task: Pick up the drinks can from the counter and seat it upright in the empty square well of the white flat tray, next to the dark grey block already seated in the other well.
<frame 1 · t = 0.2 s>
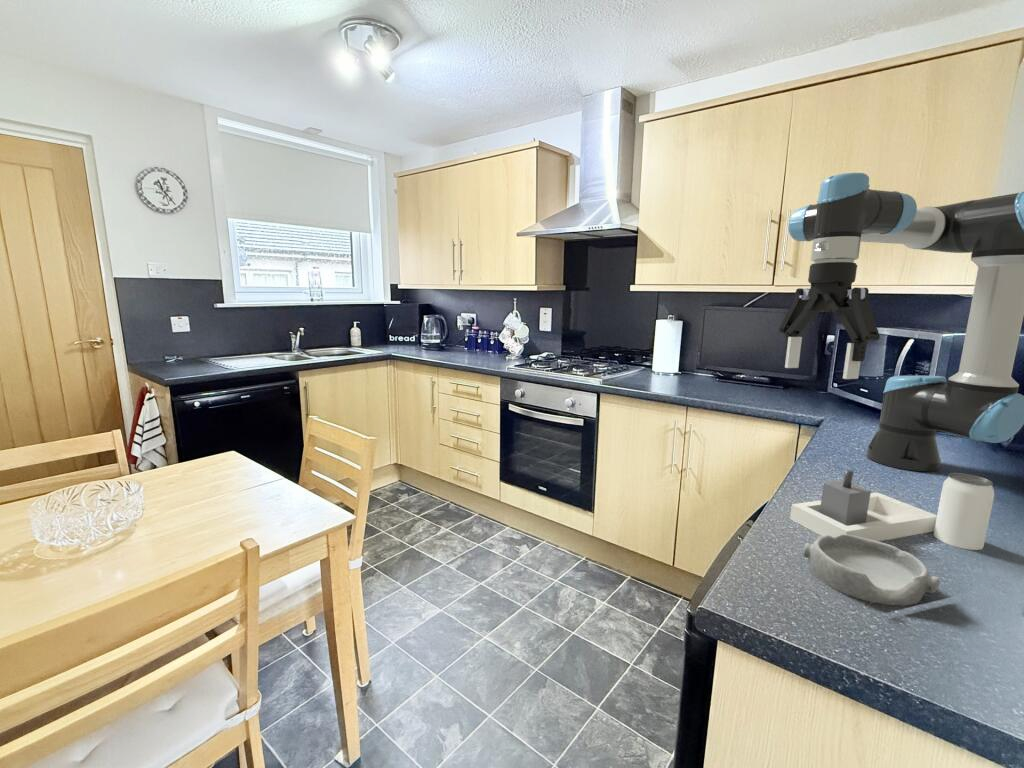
hand: (818, 373, 94), 28 cm above the counter, tool pointing down, fingers open, 13 cm apart
can: (957, 544, 84), on the counter
seated block: (840, 527, 88), resting on white flat tray
dish: (859, 583, 72), on the counter
white flat tray: (860, 527, 89), on the counter
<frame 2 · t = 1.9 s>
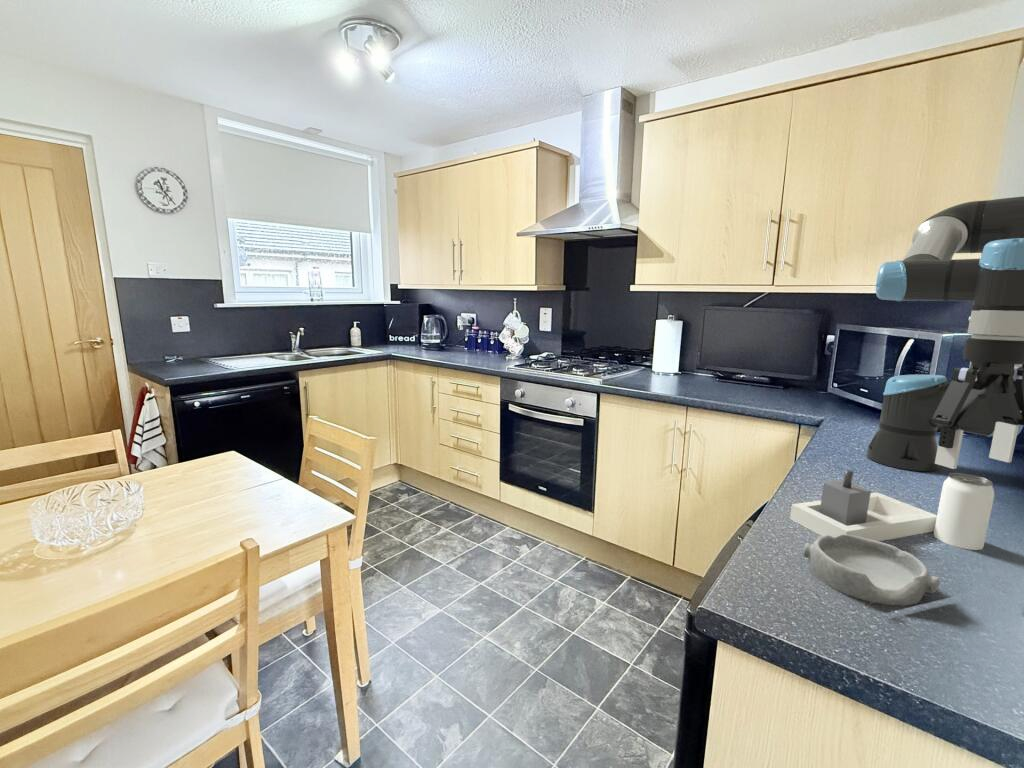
hand: (973, 463, 81), 15 cm above the counter, tool pointing down, fingers open, 13 cm apart
nothing on the counter moved.
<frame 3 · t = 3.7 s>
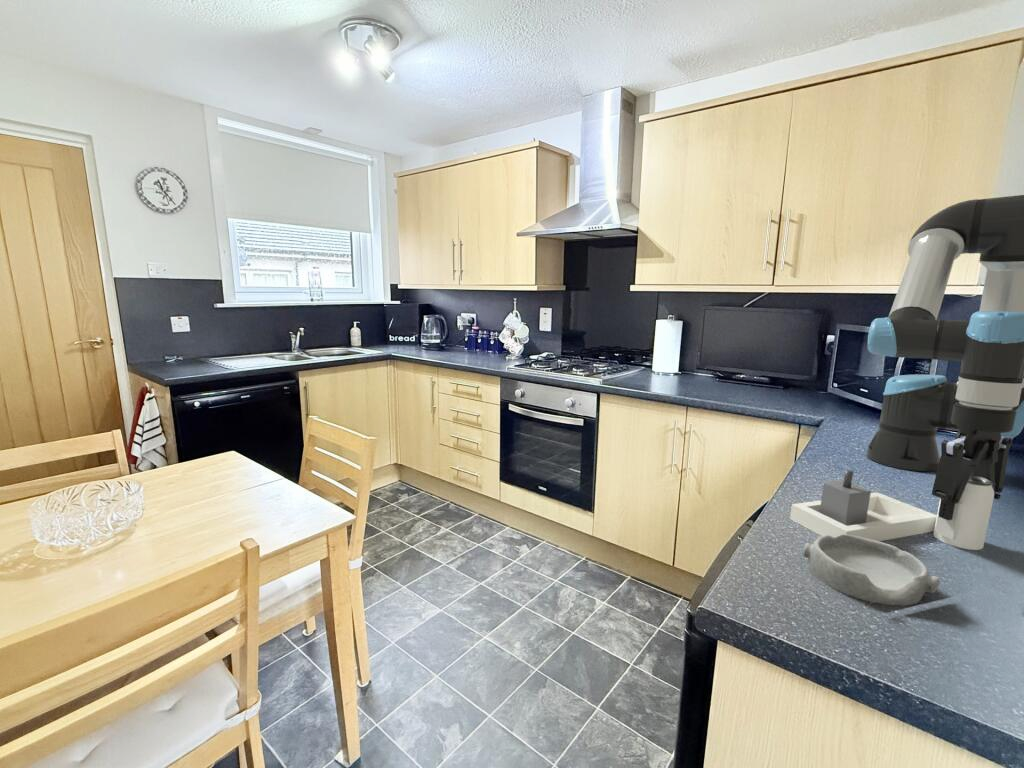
hand: (959, 532, 83), 2 cm above the counter, tool pointing down, fingers closed on can, 6 cm apart
can: (957, 544, 84), on the counter, touching gripper
everything else where it was.
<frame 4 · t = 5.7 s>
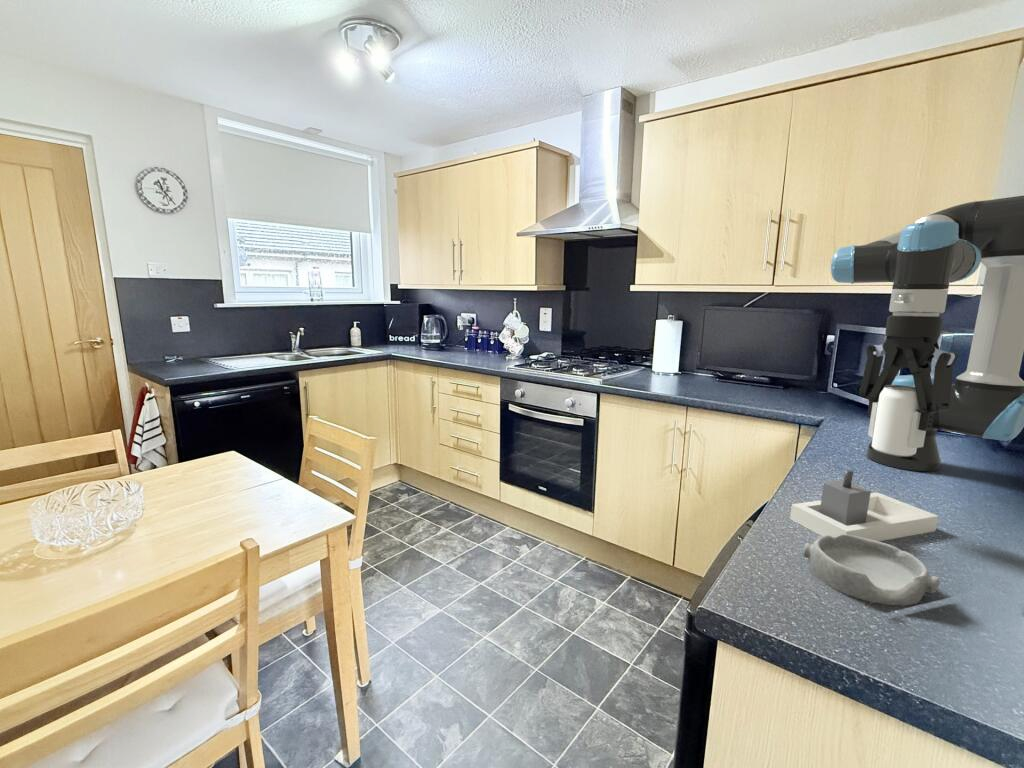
hand: (894, 441, 87), 16 cm above the counter, tool pointing down, fingers closed on can, 6 cm apart
can: (892, 452, 88), point 14 cm above the counter, touching gripper
everything else where it was.
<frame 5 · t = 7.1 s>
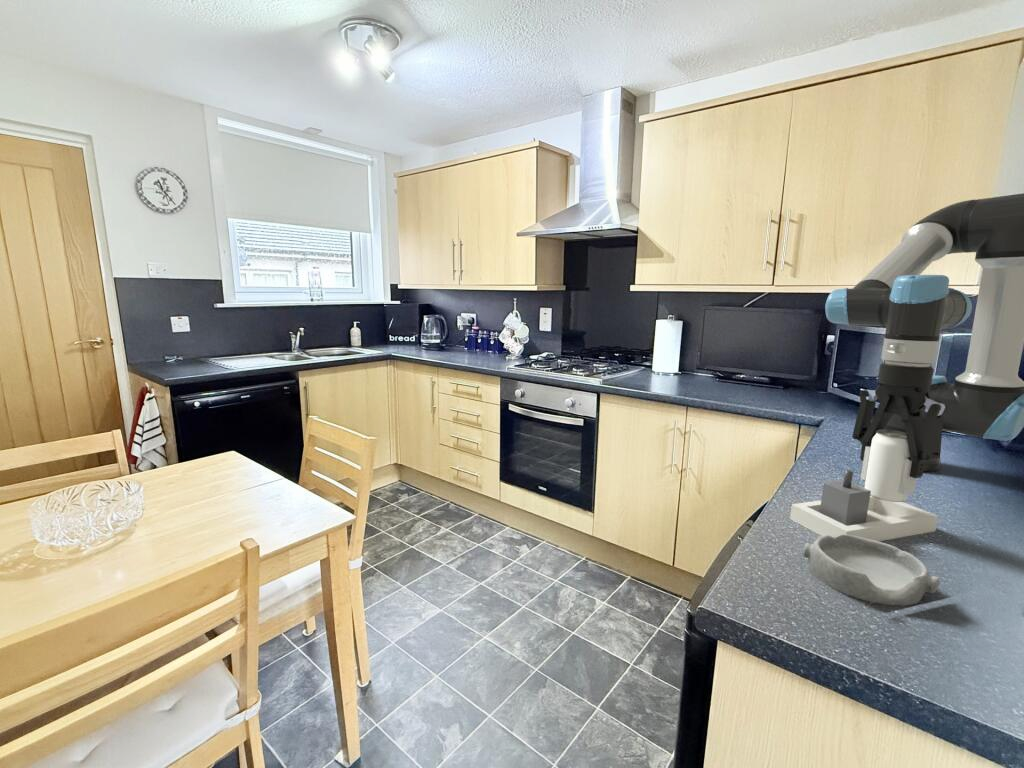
hand: (886, 485, 89), 8 cm above the counter, tool pointing down, fingers closed on can, 6 cm apart
can: (884, 496, 89), point 6 cm above the counter, touching gripper
everything else where it was.
when the fingers open (4 cm above the counter, at t = 8.2 s): can drops 1 cm, resting on white flat tray.
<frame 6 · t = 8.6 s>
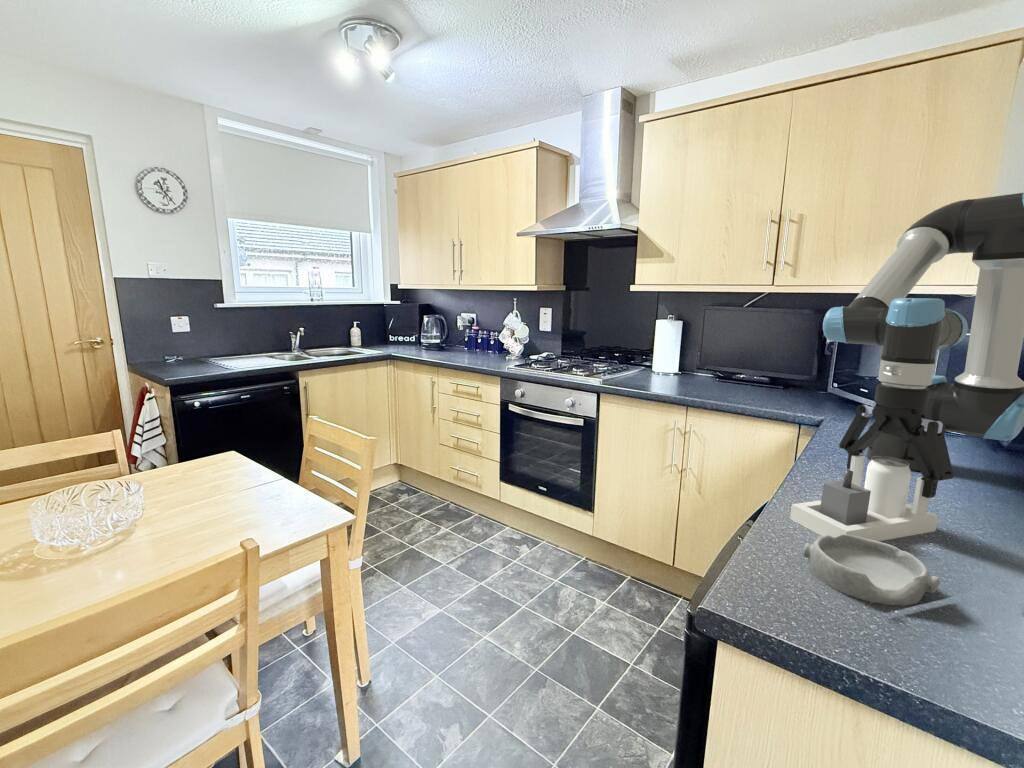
hand: (884, 499, 90), 5 cm above the counter, tool pointing down, fingers open, 11 cm apart
can: (880, 522, 90), resting on white flat tray
everything else where it was.
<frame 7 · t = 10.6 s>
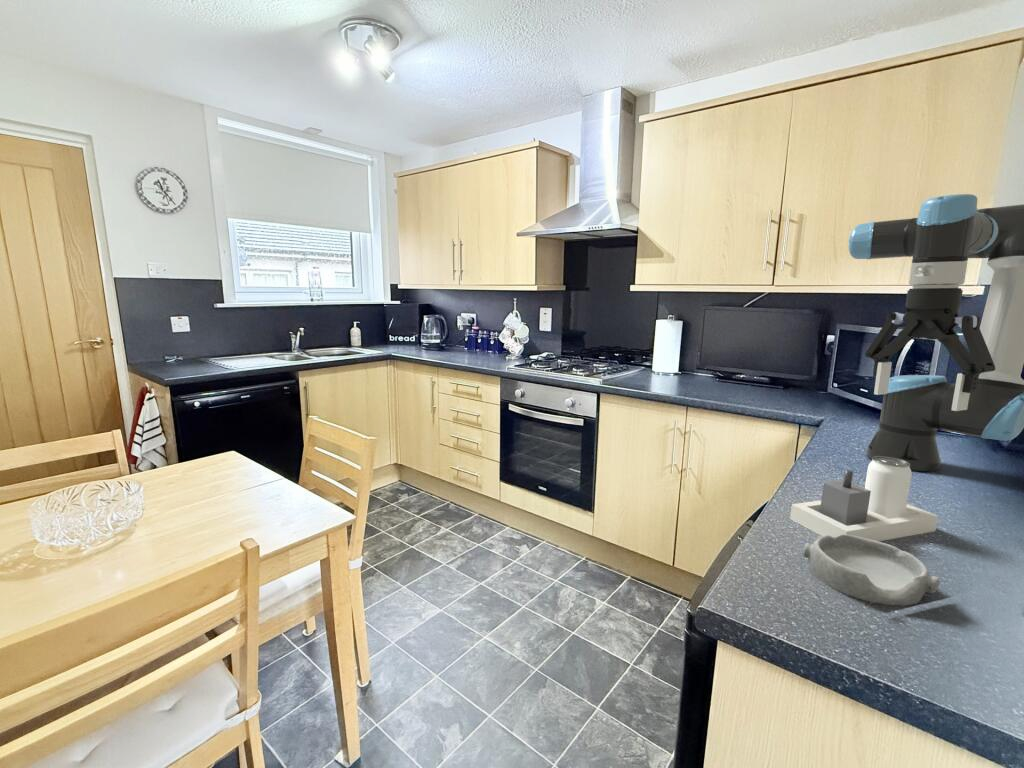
hand: (917, 401, 90), 23 cm above the counter, tool pointing down, fingers open, 13 cm apart
nothing on the counter moved.
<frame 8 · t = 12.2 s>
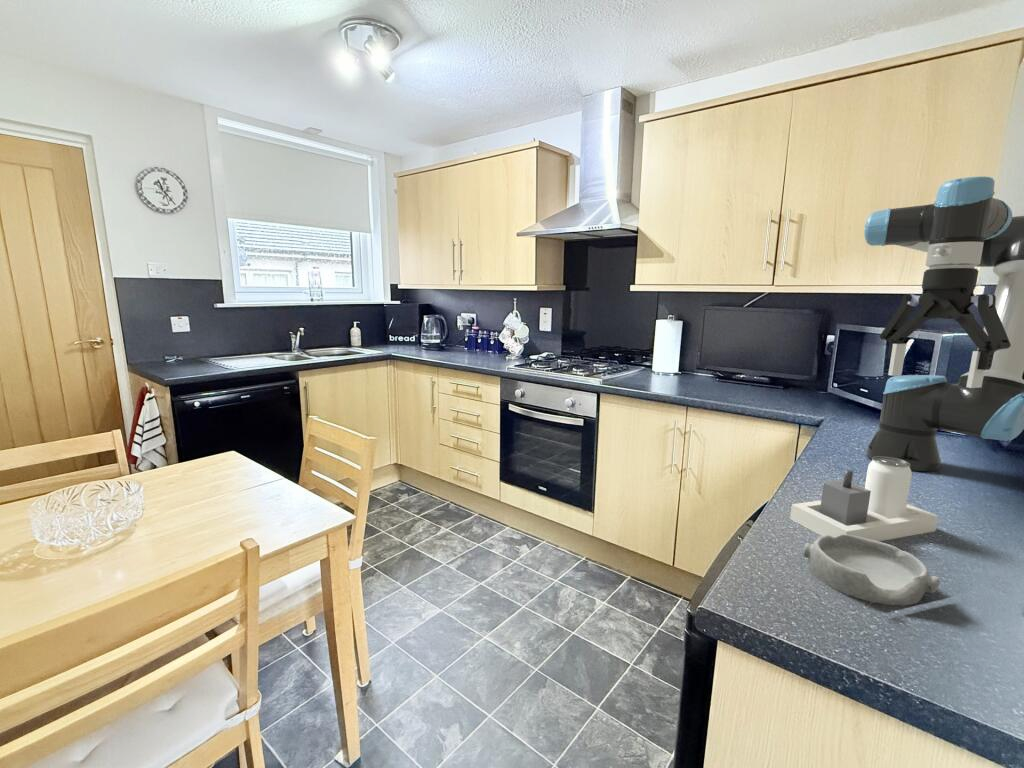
hand: (931, 381, 92), 27 cm above the counter, tool pointing down, fingers open, 13 cm apart
nothing on the counter moved.
at the end: can 0.1 cm from the target spot on the white flat tray, point 0.4 cm above the white flat tray's base; can tilted 0°; the gripper is holding nothing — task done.
